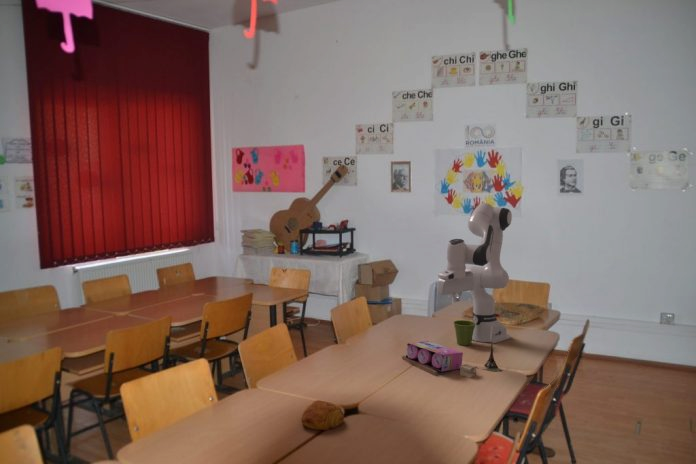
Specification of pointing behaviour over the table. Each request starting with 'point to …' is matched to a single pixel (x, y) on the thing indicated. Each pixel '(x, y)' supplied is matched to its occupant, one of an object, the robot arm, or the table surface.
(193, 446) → the table surface
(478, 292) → the robot arm
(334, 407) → the croissant
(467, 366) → the beech block
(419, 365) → the podium
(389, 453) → the table surface
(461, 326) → the plant pot
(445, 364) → the gum box
